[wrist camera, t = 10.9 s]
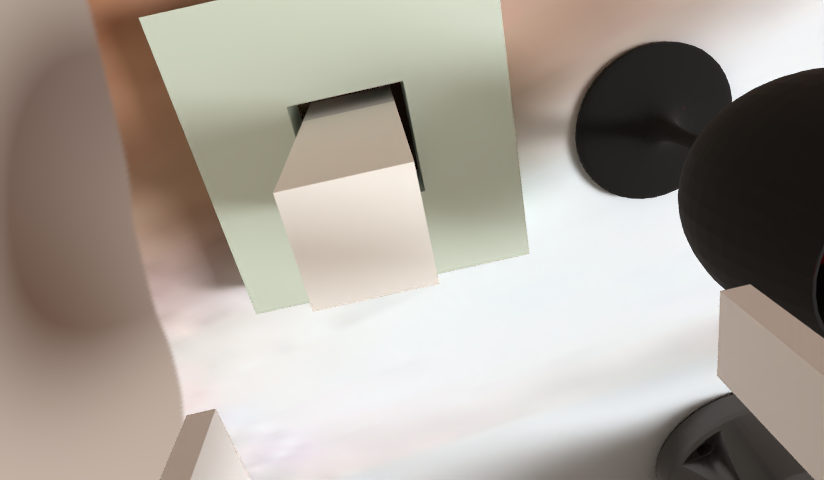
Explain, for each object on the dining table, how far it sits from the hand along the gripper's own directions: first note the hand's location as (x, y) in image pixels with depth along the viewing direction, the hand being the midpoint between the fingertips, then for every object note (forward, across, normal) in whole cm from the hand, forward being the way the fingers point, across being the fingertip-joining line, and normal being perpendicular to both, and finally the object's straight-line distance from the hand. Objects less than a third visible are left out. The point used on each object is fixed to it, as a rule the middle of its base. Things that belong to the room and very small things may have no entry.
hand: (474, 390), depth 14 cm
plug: (+23, +3, -2) cm, 23 cm away
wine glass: (+23, -16, +2) cm, 28 cm away
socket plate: (+23, +3, -2) cm, 23 cm away
